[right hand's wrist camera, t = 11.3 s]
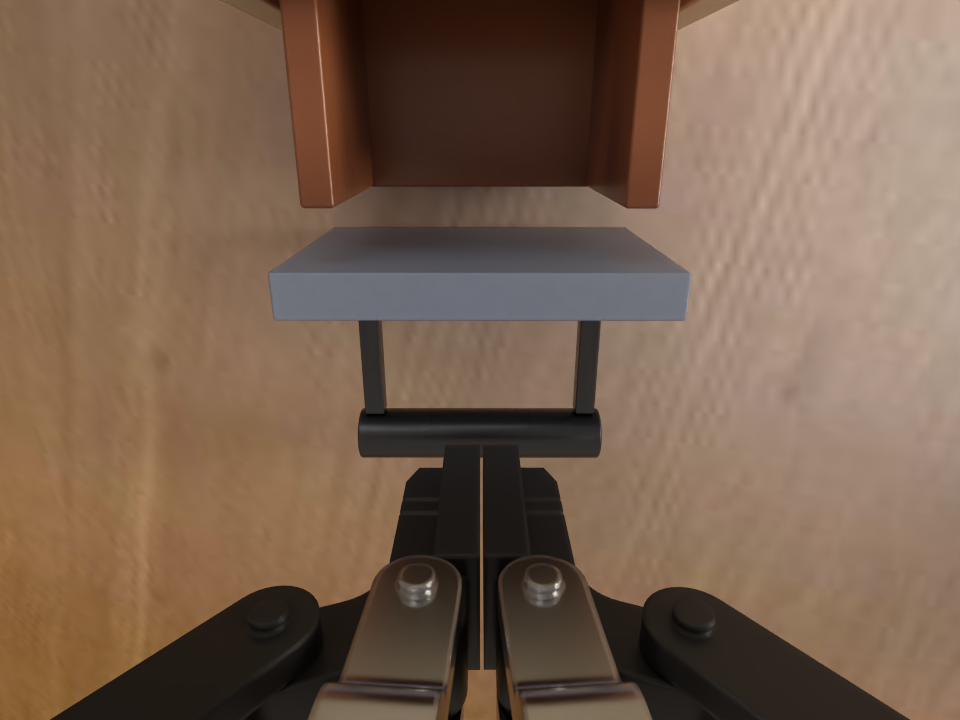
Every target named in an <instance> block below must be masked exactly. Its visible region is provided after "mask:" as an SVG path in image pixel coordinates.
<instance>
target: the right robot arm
mask: <svg viewBox="0 0 960 720" xmlns="http://www.w3.org/2000/svg"><path fill="white" fill-rule="evenodd" d="M483 615H484V670H496V684H497V705H496V716H497V720H910V719H908V718H906V717H905V716H903V715H902V714H900V713H898V712H897V711H895V710H894V709H892V708H891V707H889V706H887V705H886V704H884V703H883V702H881V701H879V700H878V699H876V698H875V697H873V696H872V695H870V694H868V693H867V692H865V691H864V690H862V689H860V688H859V687H857V686H856V685H854V684H853V683H851V682H849V681H848V680H846V679H845V678H843V677H841V676H840V675H838V674H837V673H835V672H834V671H832V670H830V669H829V668H827V667H826V666H824V665H822V664H821V663H819V662H818V661H816V660H815V659H813V658H811V657H810V656H808V655H807V654H805V653H803V652H802V651H800V650H799V649H797V648H796V647H794V646H792V645H791V644H789V643H788V642H786V641H784V640H783V639H781V638H780V637H778V636H777V635H775V634H773V633H772V632H770V631H769V630H767V629H765V628H764V627H762V626H761V625H759V624H758V623H756V622H754V621H753V620H751V619H750V618H748V617H746V616H745V615H743V614H742V613H740V612H739V611H737V610H735V609H734V608H732V607H731V606H729V605H727V604H726V603H724V602H723V601H721V600H720V599H718V598H716V597H714V596H712V595H710V594H708V593H705V592H703V591H699V590H696V589H691V588H685V587H671V588H665V589H662V590H659V591H657V592H655V593H653V594H652V595H651V596H650V597H649V598H648V599H647V600H646V602H645V604H644V607H641V606H637V605H633V604H629V603H625V602H621V601H617V600H614V599H611V598H609V597H606V596H604V595H602V594H600V593H598V592H597V591H595V590H594V589H592V588H591V587H589V586H588V583H587V581H586V579H585V577H584V575H583V574H582V572H581V571H580V570H579V569H578V568H577V567H575V563H574V559H573V554H572V550H571V545H570V540H569V536H568V531H567V527H566V522H565V517H564V515H563V508H562V504H561V501H560V494H559V490H558V485H557V482H556V480H555V479H554V478H553V477H552V476H551V475H550V474H549V473H548V472H547V471H546V470H545V469H544V468H521V467H520V459H519V451H518V444H483ZM468 670H480V444H445V452H444V461H443V468H419V469H418V470H417V471H416V472H415V473H414V474H413V475H412V476H411V478H410V479H409V480H408V481H407V482H406V486H405V491H404V496H403V501H402V505H401V510H400V515H399V520H398V525H397V529H396V534H395V539H394V544H393V549H392V553H391V558H390V563H389V564H388V565H386V566H385V567H383V568H382V569H381V570H380V571H379V572H378V574H377V575H376V577H375V579H374V581H373V583H372V586H371V589H370V590H369V591H368V592H366V593H364V594H363V595H361V596H359V597H356V598H354V599H351V600H348V601H344V602H340V603H336V604H332V605H328V606H324V607H320V608H319V605H318V602H317V600H316V599H315V597H314V596H313V595H312V594H311V593H310V592H308V591H306V590H304V589H301V588H298V587H294V586H274V587H269V588H265V589H261V590H258V591H256V592H253V593H251V594H249V595H247V596H246V597H244V598H242V599H240V600H239V601H237V602H236V603H234V604H233V605H231V606H229V607H228V608H226V609H225V610H223V611H221V612H220V613H218V614H217V615H215V616H214V617H212V618H210V619H209V620H207V621H206V622H204V623H202V624H201V625H199V626H198V627H196V628H195V629H193V630H191V631H190V632H188V633H187V634H185V635H183V636H182V637H180V638H179V639H177V640H176V641H174V642H172V643H171V644H169V645H168V646H166V647H164V648H163V649H161V650H160V651H158V652H157V653H155V654H153V655H152V656H150V657H149V658H147V659H145V660H144V661H142V662H141V663H139V664H138V665H136V666H134V667H133V668H131V669H130V670H128V671H126V672H125V673H123V674H122V675H120V676H119V677H117V678H115V679H114V680H112V681H111V682H109V683H107V684H106V685H104V686H103V687H101V688H100V689H98V690H96V691H95V692H93V693H92V694H90V695H88V696H87V697H85V698H84V699H82V700H81V701H79V702H77V703H76V704H74V705H73V706H71V707H69V708H68V709H66V710H65V711H63V712H62V713H60V714H58V715H57V716H55V717H54V718H52V719H50V720H463V716H464V705H463V704H464V702H465V699H466V696H467V688H468Z"/></svg>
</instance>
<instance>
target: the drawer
mask: <svg viewBox="0 0 960 720" xmlns="http://www.w3.org/2000/svg"><path fill="white" fill-rule="evenodd" d="M279 2H280V11H281V21H282V31H283V40H284V50H285V60H286V69H287V79H288V89H289V98H290V108H291V117H292V127H293V137H294V146H295V156H296V166H297V175H298V185H299V195H300V204H301V206H302V207H303V208H333V207H335V206H337V205H338V204H340V203H342V202H344V201H346V200H348V199H349V198H351V197H353V196H355V195H357V194H359V193H360V192H362V191H364V190H366V189H368V188H370V187H371V186H516V187H589V188H591V189H593V190H595V191H597V192H599V193H600V194H602V195H604V196H606V197H608V198H609V199H611V200H613V201H615V202H617V203H618V204H620V205H622V206H624V207H626V208H658V206H659V201H660V191H661V182H662V172H663V163H664V153H665V143H666V134H667V124H668V115H669V105H670V95H671V86H672V76H673V67H674V57H675V48H676V38H677V28H678V19H679V9H680V0H279ZM268 278H269V286H270V294H271V302H272V310H273V317H274V320H359V333H360V346H361V360H362V373H363V386H364V400H365V408H364V409H362V411H361V413H360V417H359V423H358V447H359V452H360V455H361V457H444V452H445V444H480V457H483V444H518V451H519V458H596V457H598V456H599V454H600V450H601V439H602V432H601V420H600V415H599V412H598V410H597V409H595V408H594V404H595V391H596V378H597V364H598V351H599V338H600V325H601V321H684V320H685V319H686V313H687V305H688V297H689V289H690V281H691V273H690V272H688V271H687V270H685V269H684V268H683V267H681V266H680V265H678V264H677V263H675V262H674V261H673V260H671V259H670V258H668V257H667V256H665V255H664V254H662V253H661V252H660V251H658V250H657V249H655V248H654V247H652V246H651V245H649V244H648V243H647V242H645V241H644V240H642V239H641V238H639V237H638V236H636V235H635V234H634V233H632V232H631V231H629V230H628V229H626V228H625V227H335V228H333V229H332V230H330V231H329V232H327V233H326V234H324V235H323V236H321V237H320V238H319V239H317V240H316V241H314V242H313V243H311V244H310V245H308V246H307V247H306V248H304V249H303V250H301V251H300V252H298V253H297V254H295V255H294V256H292V257H291V258H290V259H288V260H287V261H285V262H284V263H282V264H281V265H279V266H278V267H277V268H275V269H274V270H272V271H271V272H269V273H268ZM382 320H401V321H578V330H577V346H576V362H575V379H574V395H573V408H386V407H387V402H386V385H385V369H384V353H383V336H382Z"/></svg>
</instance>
